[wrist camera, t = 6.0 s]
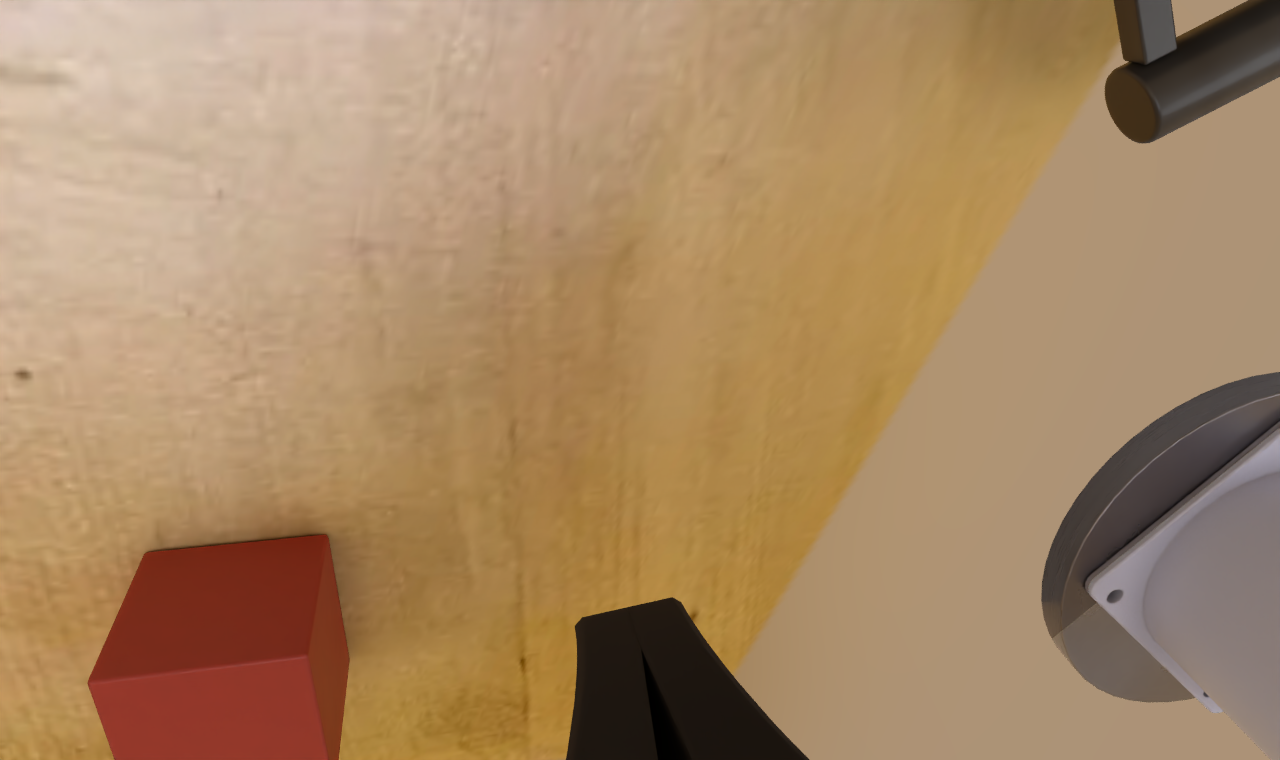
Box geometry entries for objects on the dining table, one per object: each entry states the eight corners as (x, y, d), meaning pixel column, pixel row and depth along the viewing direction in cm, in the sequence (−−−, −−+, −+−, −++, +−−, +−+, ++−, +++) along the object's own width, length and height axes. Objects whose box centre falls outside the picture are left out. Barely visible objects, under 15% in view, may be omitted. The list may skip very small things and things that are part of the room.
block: (328, 532, 21) (307, 655, 18) (349, 660, 23) (335, 793, 20) (143, 551, 21) (85, 682, 17) (181, 681, 23) (135, 823, 19)
